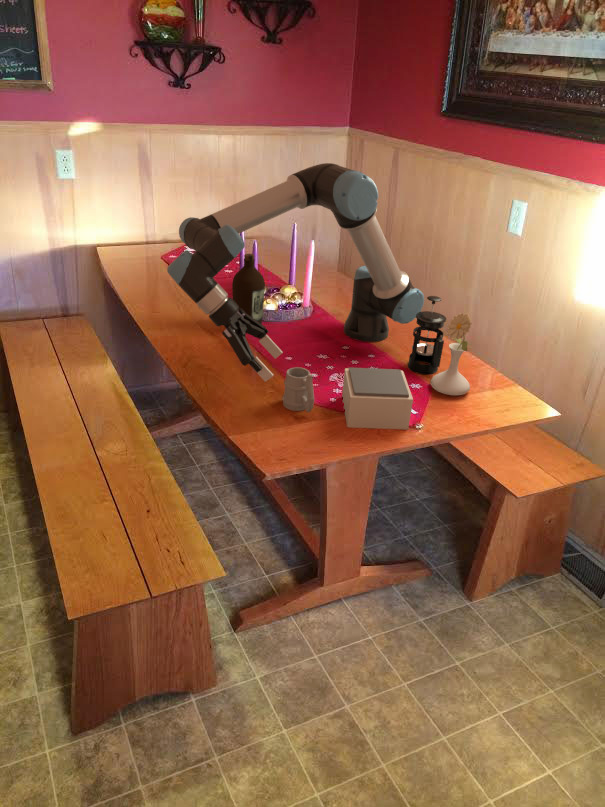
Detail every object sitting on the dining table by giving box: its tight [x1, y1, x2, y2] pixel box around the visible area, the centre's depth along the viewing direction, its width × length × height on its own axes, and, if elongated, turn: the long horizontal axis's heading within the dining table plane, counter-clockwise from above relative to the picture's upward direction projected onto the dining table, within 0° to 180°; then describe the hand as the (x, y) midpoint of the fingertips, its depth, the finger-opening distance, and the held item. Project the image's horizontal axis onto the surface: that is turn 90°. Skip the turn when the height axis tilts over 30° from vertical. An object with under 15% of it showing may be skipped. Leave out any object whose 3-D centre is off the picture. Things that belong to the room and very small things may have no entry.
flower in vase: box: [429, 312, 472, 396], centre depth 188 cm, size 13×11×25 cm
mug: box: [281, 366, 315, 413], centre depth 177 cm, size 8×12×12 cm, turn 30°
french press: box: [407, 295, 447, 376], centre depth 200 cm, size 12×9×23 cm
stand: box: [341, 366, 414, 430], centre depth 178 cm, size 16×16×10 cm
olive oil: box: [231, 253, 266, 325], centre depth 218 cm, size 11×11×25 cm
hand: (274, 366), depth 174 cm, fingers open, 13 cm apart
